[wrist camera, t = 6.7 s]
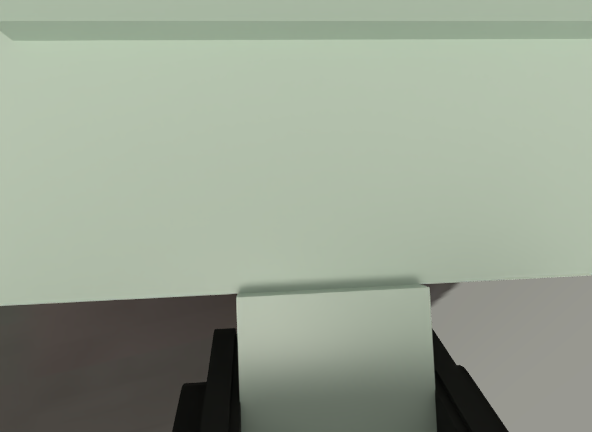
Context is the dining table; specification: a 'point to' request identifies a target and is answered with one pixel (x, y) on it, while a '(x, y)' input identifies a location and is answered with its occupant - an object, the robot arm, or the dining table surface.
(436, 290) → the dining table surface
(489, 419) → the robot arm
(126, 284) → the lid
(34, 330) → the dining table surface
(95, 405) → the dining table surface
